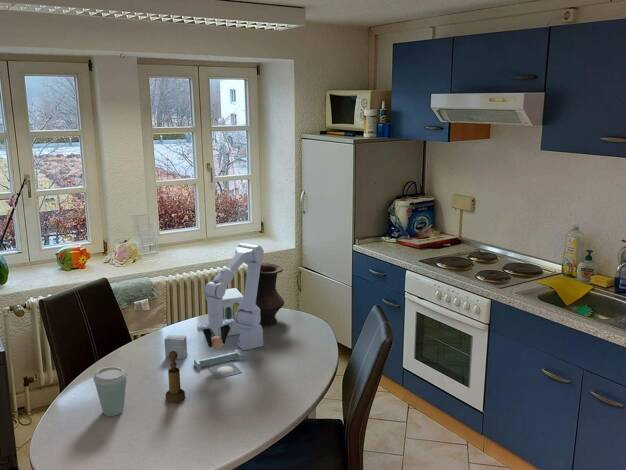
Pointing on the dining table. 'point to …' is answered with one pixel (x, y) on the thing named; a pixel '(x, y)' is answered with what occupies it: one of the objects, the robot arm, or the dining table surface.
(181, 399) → the brown wooden tall figure
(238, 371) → the resting mat
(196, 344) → the dining table surface
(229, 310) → the supplement box
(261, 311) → the jug
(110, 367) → the disposable coffee cup
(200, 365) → the divider wall
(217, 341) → the ball
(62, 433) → the dining table surface
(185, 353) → the medicine box
